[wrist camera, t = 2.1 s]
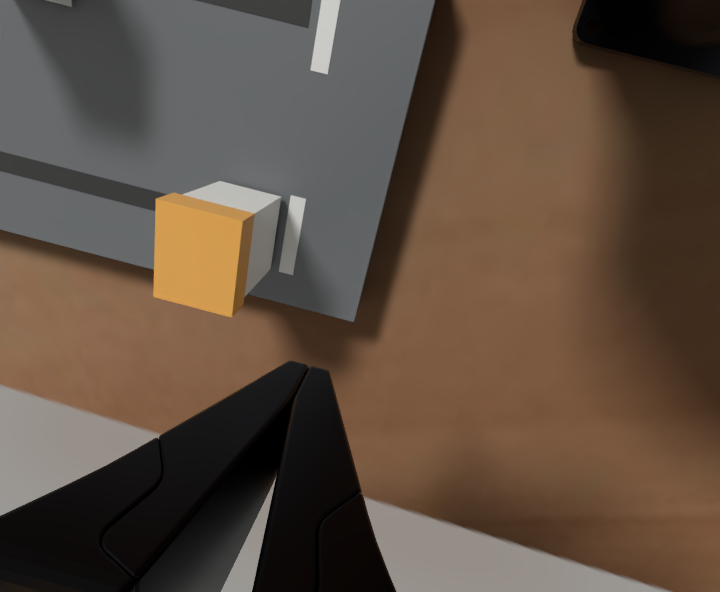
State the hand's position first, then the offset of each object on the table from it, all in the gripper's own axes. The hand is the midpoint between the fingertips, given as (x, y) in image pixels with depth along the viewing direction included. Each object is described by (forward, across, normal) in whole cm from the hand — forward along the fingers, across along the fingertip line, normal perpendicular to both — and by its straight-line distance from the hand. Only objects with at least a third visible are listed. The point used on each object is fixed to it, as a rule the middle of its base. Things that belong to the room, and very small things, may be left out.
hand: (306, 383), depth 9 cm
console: (+11, +11, -3) cm, 16 cm away
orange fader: (+9, +5, 0) cm, 10 cm away
